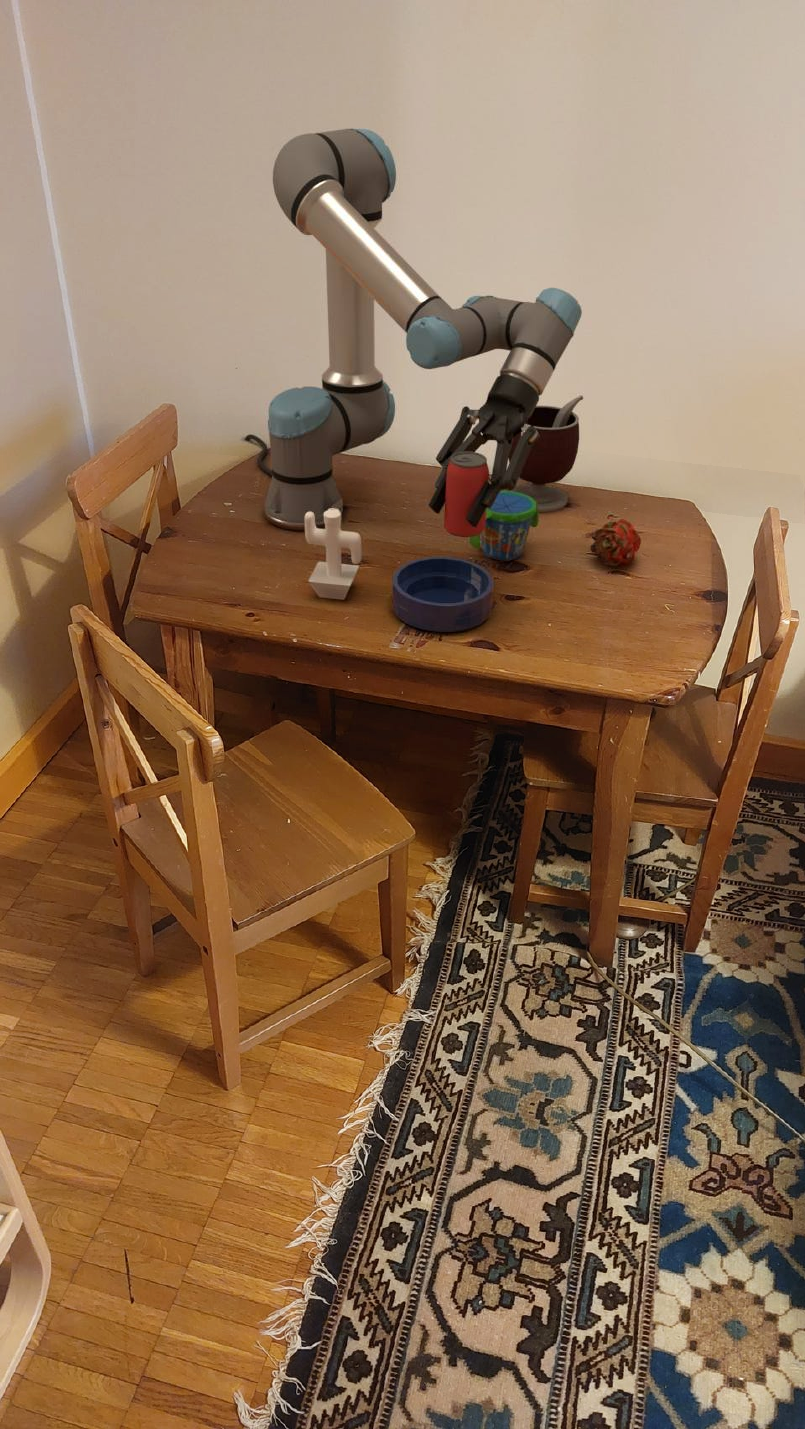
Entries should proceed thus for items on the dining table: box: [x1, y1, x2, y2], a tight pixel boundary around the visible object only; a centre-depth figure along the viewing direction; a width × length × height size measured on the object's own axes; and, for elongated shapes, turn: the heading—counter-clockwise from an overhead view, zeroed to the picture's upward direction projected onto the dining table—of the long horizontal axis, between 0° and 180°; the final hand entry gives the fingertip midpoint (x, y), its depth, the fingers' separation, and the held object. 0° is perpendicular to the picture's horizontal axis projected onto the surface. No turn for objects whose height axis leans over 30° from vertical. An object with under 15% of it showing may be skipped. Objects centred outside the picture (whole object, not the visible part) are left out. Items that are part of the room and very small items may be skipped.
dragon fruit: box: [589, 518, 642, 567], centre depth 183 cm, size 8×8×12 cm
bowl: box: [391, 556, 495, 633], centre depth 168 cm, size 17×17×6 cm
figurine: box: [304, 508, 362, 601], centre depth 169 cm, size 7×9×15 cm
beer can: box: [443, 451, 490, 538], centre depth 158 cm, size 7×7×12 cm
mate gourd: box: [508, 395, 584, 513], centre depth 200 cm, size 16×14×20 cm
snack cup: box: [468, 490, 540, 562], centre depth 183 cm, size 16×10×10 cm
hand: (452, 516), depth 157 cm, fingers closed on beer can, 6 cm apart
